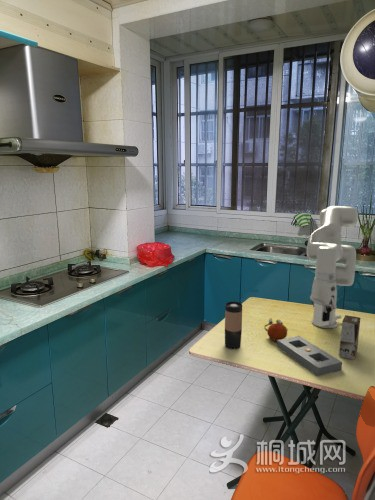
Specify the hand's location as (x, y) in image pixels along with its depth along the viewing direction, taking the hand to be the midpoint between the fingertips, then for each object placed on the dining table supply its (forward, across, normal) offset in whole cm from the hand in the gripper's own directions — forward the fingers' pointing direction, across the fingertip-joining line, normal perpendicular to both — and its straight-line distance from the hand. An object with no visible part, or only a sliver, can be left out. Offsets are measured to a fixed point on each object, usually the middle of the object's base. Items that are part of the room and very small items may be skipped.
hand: (321, 318), depth 151 cm
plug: (+2, 0, 0) cm, 2 cm away
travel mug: (+18, +24, +28) cm, 41 cm away
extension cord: (+18, +34, -3) cm, 38 cm away
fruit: (+18, +22, +5) cm, 29 cm away
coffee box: (+18, -2, -15) cm, 24 cm away
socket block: (+18, +2, +4) cm, 19 cm away
